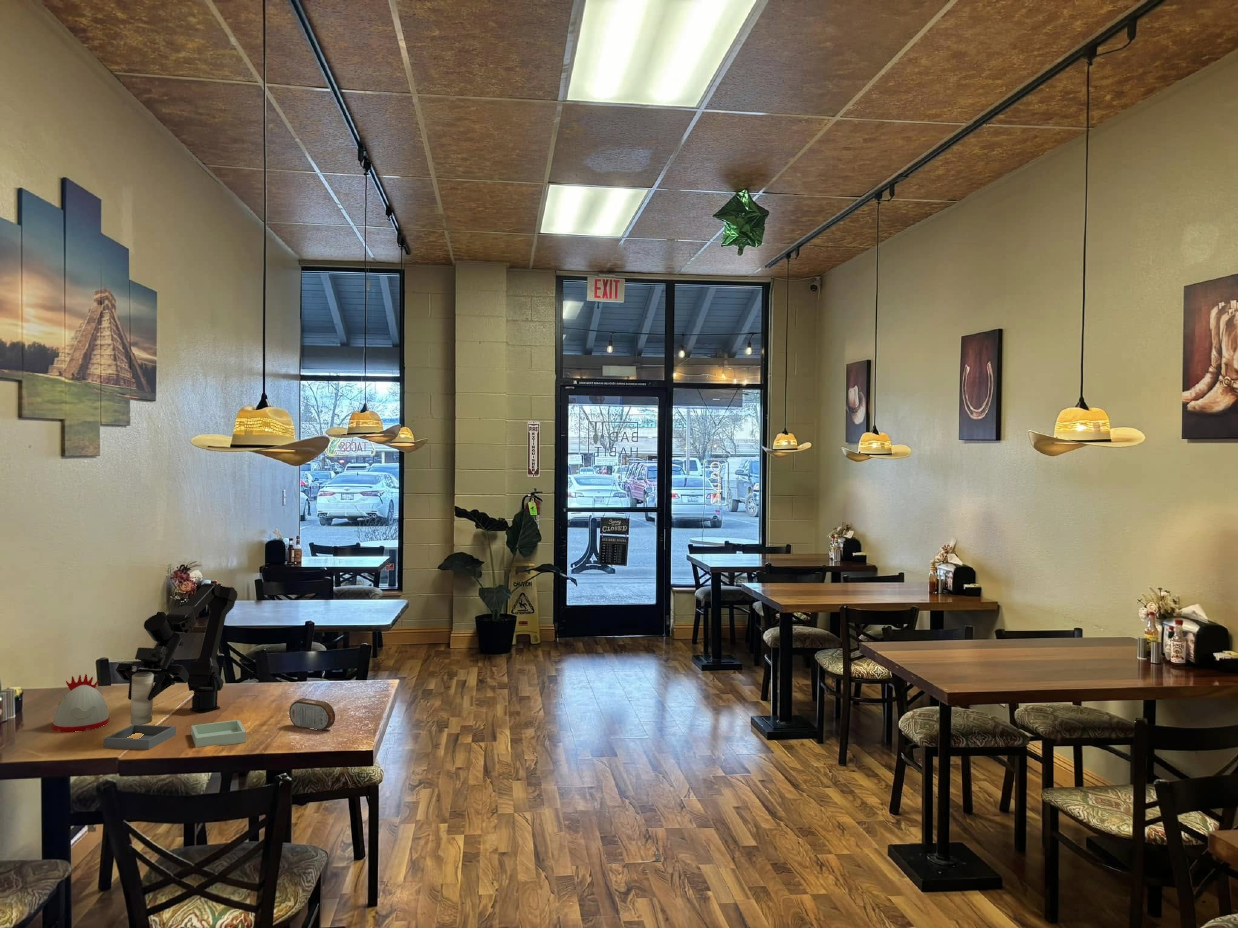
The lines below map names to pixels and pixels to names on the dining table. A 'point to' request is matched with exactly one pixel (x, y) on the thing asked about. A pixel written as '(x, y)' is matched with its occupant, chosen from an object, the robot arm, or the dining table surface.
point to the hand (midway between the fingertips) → (139, 699)
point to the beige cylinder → (141, 698)
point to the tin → (312, 714)
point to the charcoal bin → (146, 742)
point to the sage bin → (218, 733)
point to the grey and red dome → (81, 708)
